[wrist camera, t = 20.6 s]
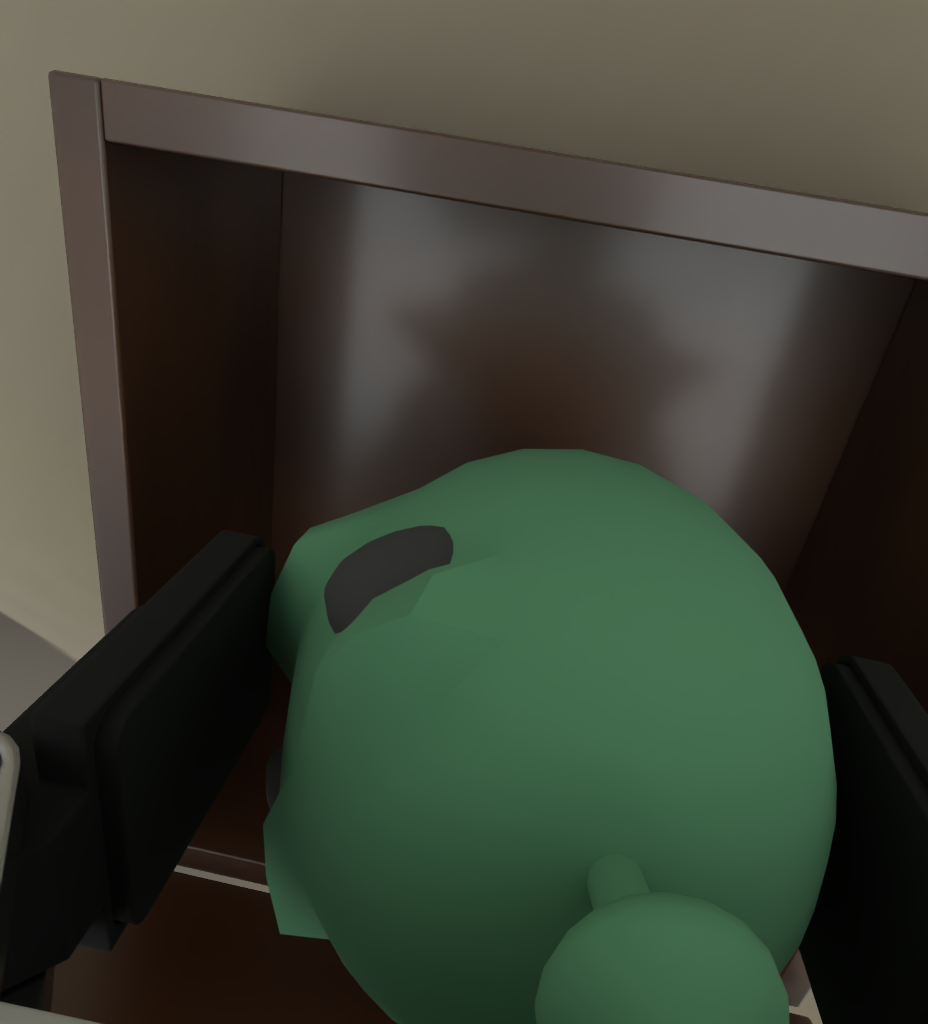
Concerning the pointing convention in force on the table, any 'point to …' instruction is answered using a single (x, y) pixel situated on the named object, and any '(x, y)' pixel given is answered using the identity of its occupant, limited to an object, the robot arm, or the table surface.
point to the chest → (479, 356)
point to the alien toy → (547, 752)
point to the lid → (214, 967)
